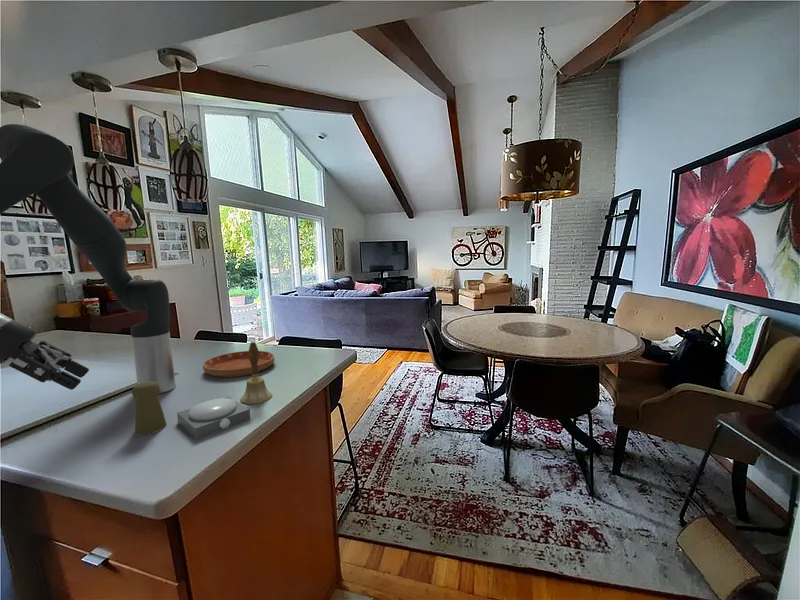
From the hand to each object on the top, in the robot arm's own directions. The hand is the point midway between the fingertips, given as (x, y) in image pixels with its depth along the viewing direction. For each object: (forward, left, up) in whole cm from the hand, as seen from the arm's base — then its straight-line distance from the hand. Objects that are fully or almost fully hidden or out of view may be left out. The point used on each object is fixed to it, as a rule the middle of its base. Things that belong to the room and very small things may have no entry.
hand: (81, 379), depth 73 cm
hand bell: (+6, +34, -15) cm, 38 cm away
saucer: (-24, +43, -15) cm, 52 cm away
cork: (+3, +10, -14) cm, 18 cm away
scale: (+11, +21, -14) cm, 28 cm away
